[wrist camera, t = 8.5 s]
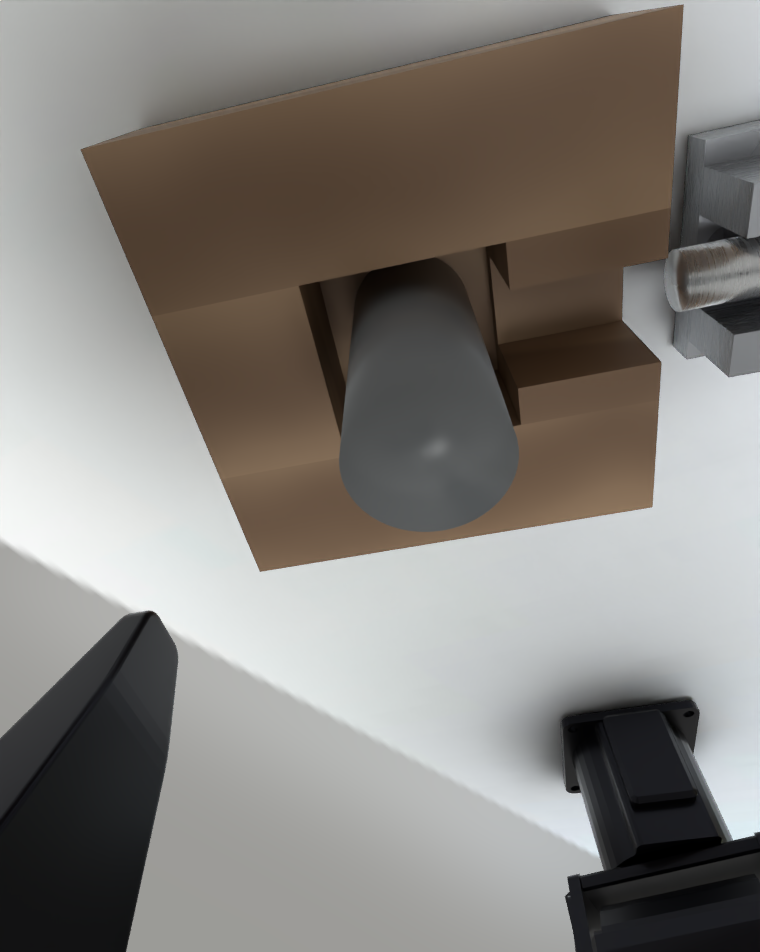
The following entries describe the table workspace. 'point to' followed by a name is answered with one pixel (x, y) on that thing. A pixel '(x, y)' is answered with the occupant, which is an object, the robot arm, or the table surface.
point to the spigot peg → (422, 404)
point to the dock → (407, 240)
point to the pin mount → (716, 218)
